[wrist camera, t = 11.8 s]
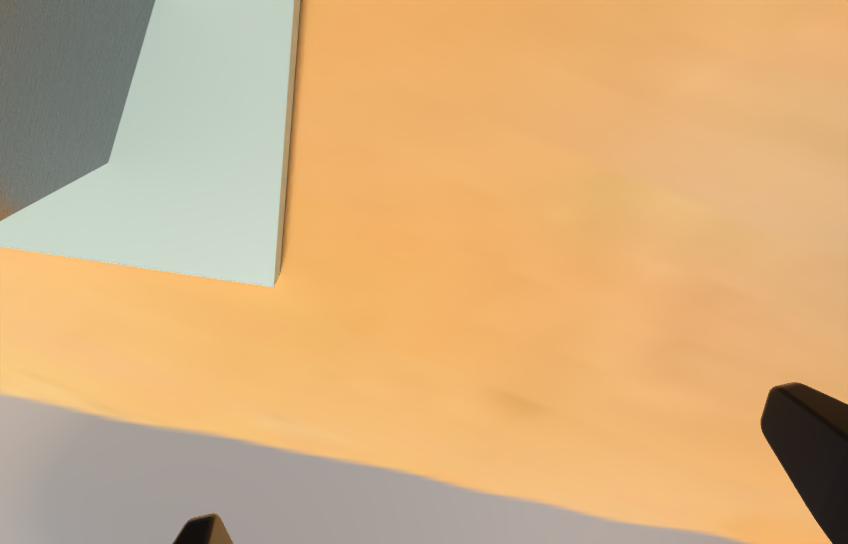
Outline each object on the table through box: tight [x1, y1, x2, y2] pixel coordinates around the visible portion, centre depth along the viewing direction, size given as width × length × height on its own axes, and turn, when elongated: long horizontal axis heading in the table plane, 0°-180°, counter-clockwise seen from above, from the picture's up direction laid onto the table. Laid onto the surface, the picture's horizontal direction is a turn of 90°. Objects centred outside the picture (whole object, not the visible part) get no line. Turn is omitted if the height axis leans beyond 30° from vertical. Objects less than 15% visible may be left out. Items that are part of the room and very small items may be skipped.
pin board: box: [0, 0, 301, 287], centre depth 14 cm, size 14×14×5 cm
